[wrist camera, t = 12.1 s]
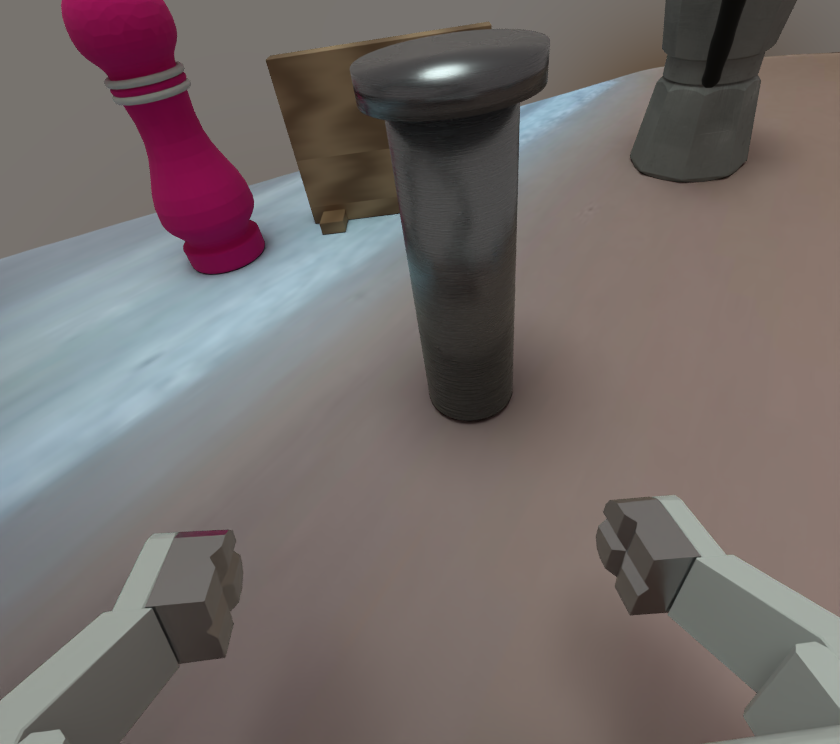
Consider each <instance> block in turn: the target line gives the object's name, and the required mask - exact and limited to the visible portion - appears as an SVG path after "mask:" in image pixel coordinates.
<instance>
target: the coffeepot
mask: <svg viewBox="0 0 840 744" xmlns="http://www.w3.org/2000/svg"><path fill="white" fill-rule="evenodd" d="M796 1H797V0H666V5H665V18H664V32H663V45H662V49H663V50H664V52H665V53H666V54H668V55H667V59H666V63H665V68H664V72H663V76H662V77H661V78H660V80H659V81H658V82H657V83H656V86H655V89H654V91H653V94H652V97H651V99H650V102H649V105H648V108H647V110H646V113H645V116H644V119H643V121H642V124H641V127H640V129H639V132H638V135H637V138H636V140H635V143H634V146H633V149H632V151H631V154H630V157H631V160H632V162H633V164H634V167H635V168H636V169H637V170H638V171H640V172H642V173H643V174H646V175H648V176H651V177H654V178H658V179H662V180H668V181H676V182H703V181H711V180H716V179H720V178H724V177H726V176H729V175H731V174H733V173H734V172H736V171H737V170H738V169H739V168H740V166H741V165H742V164H743V163H744V162H745V161H747V157H748V151H749V145H750V140H751V134H752V128H753V123H754V117H755V112H756V106H757V100H758V95H759V89H760V84H761V80H760V78H759V76H758V73H759V70H760V67H761V64H762V61H763V57H764V54H765V51H767V50H769V49H770V48H771V47H772V46H774V45H775V44H776V42H777V40H778V38H779V36H780V34H781V32H782V30H783V28H784V26H785V24H786V22H787V20H788V18H789V15H790V14H791V12H792V9H793V7H794V5H795V3H796Z"/></svg>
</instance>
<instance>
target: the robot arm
mask: <svg viewBox="0 0 840 744" xmlns="http://www.w3.org/2000/svg"><path fill="white" fill-rule="evenodd" d="M603 513H604V515H605V516H606V518H607V519H606V520H605V521H604V522H603V523H601V524H600V525H599V526H598V530H597V534H596V544H597V550H598V554H599V557H600V559H601V561H602V563H603V565H604V567H605V569H607V570H608V571H609V572H611V573H612V574H613V575H615V576H616V583H615V588H616V590H617V592H618V594H619V596H620V598H621V600H622V601H623V603H624V605H625V607H626V609H627V611H628V613H629V615H643V614H657V613H668V616H669V617H671V618H672V619H673V620H674V621H675V622H676V623H677V624H679V625H680V626H681V627H682V628H683V629H684V630H685V631H687V632H688V633H689V634H690V635H691V636H692V637H693V638H695V639H696V640H697V641H698V642H699V643H700V644H701V645H703V646H704V647H705V648H706V649H707V650H708V651H709V652H711V653H712V654H713V655H714V656H715V657H716V658H717V659H719V660H720V661H721V662H722V663H723V664H724V665H725V666H727V667H728V668H729V669H730V670H731V671H732V672H733V673H735V674H736V675H737V676H738V677H739V678H740V679H741V680H743V681H744V682H745V683H746V684H747V685H748V686H749V687H751V688H752V689H753V690H754V691H755V692H756V693H757V694H756V695H755V696H754V698H753V699H752V700H751V701H750V703H749V704H748V705H747V706H746V708H745V710H744V715H743V717H744V718H745V720H746V722H747V723H748V725H749V727H750V728H751V730H752V732H753V733H754V735H755V736H754V737H747V738H739V739H732V740H725V741H718V742H711V743H703V744H840V618H839V617H838V616H836V615H834V614H832V613H831V612H829V611H827V610H826V609H824V608H822V607H821V606H819V605H817V604H816V603H814V602H812V601H810V600H809V599H807V598H805V597H804V596H802V595H800V594H799V593H797V592H795V591H794V590H792V589H790V588H788V587H787V586H785V585H783V584H782V583H780V582H778V581H777V580H775V579H773V578H772V577H770V576H768V575H766V574H765V573H763V572H761V571H760V570H758V569H756V568H755V567H753V566H751V565H750V564H748V563H746V562H744V561H743V560H741V559H739V558H738V557H736V556H734V555H726V554H725V553H724V552H723V550H722V549H721V548H720V547H719V545H718V544H717V543H716V542H715V540H714V539H713V538H712V537H711V536H710V534H709V533H708V532H707V531H706V529H705V528H704V527H703V526H702V524H701V523H700V522H699V521H698V520H697V518H696V517H695V516H694V515H693V513H692V512H691V511H690V510H689V508H688V507H687V506H686V505H685V504H684V502H683V501H682V500H681V499H680V498H679V497H677V496H675V495H668V496H655V497H640V498H629V499H617V500H610V501H609V502H608V503H606V505H605V508H604V511H603ZM235 543H236V539H235V536H234V533H233V530H212V531H192V532H177V533H160V534H153V535H152V536H151V537H150V538H149V539H148V540H147V541H146V542H145V544H144V547H143V549H142V551H141V553H140V555H139V557H138V559H137V561H136V563H135V565H134V567H133V569H132V571H131V573H130V575H129V577H128V579H127V581H126V583H125V585H124V588H123V590H122V592H121V594H120V596H119V598H118V600H117V602H116V604H115V606H114V608H113V610H112V611H110V612H103V613H102V614H101V615H100V616H99V617H97V618H96V619H95V620H94V621H93V622H92V623H90V624H89V625H88V626H87V627H86V628H85V629H83V630H82V631H81V632H80V633H79V634H78V635H76V636H75V637H74V638H73V639H72V640H70V641H69V642H68V643H67V644H66V645H65V646H63V647H62V648H61V649H60V650H59V651H58V652H56V653H55V654H54V655H53V656H52V657H51V658H49V659H48V660H47V661H46V662H45V663H44V664H42V665H41V666H40V667H39V668H38V669H37V670H35V671H34V672H33V673H32V674H31V675H30V676H28V677H27V678H26V679H25V680H24V681H23V682H21V683H20V684H19V685H18V686H17V687H16V688H14V689H13V690H12V691H11V692H10V693H9V694H7V695H6V696H5V697H4V698H3V699H2V700H0V744H119V743H120V741H121V740H122V739H123V738H124V736H125V735H126V734H127V733H128V731H129V730H130V729H131V728H132V726H133V725H134V724H135V722H136V721H137V720H138V719H139V717H140V716H141V715H142V714H143V712H144V711H145V710H146V709H147V707H148V706H149V705H150V703H151V702H152V701H153V700H154V698H155V697H156V696H157V695H158V693H159V692H160V691H161V690H162V688H163V687H164V686H165V685H166V683H167V682H168V681H169V679H170V678H171V677H172V676H173V674H174V673H175V672H176V671H177V669H178V668H179V664H182V663H189V662H197V661H204V660H212V659H219V658H225V657H226V653H227V649H228V645H229V641H230V637H231V633H232V629H233V625H234V623H233V620H232V617H231V613H230V611H231V610H232V609H233V608H234V607H235V606H236V605H237V604H238V603H239V600H240V595H241V591H242V582H243V566H242V560H241V556H240V555H239V554H238V553H236V552H235V551H234V547H235Z"/></svg>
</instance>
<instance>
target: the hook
mask: <svg viewBox="0 0 840 744" xmlns="http://www.w3.org/2000/svg"><path fill="white" fill-rule="evenodd" d="M549 49H550V39H549V37H548V36H546V35H545V34H542V33H539V32H536V31H530V30H521V29H484V30H471V31H462V32H453V33H446V34H440V35H434V36H428V37H423V38H418V39H414V40H409V41H405V42H401V43H397V44H394V45H390V46H387V47H384V48H381V49H378V50H375V51H373V52H370V53H368V54H366V55H364V56H362V57H360V58H359V59H357V60H355V61H354V62H353V63H352V64H351V66H350V74H351V79H352V84H353V89H354V94H355V99H356V104H357V108H358V110H359V111H360V112H361V113H363V114H365V115H367V116H370V117H373V118H377V119H382V120H385V125H386V131H387V137H388V143H389V149H390V155H391V161H392V168H393V174H394V180H395V186H396V192H397V198H398V204H399V211H400V217H401V223H402V229H403V235H404V241H405V247H406V253H407V260H408V266H409V272H410V278H411V284H412V290H413V296H414V303H415V309H416V315H417V321H418V327H419V333H420V339H421V345H422V352H423V358H424V364H425V370H426V376H427V382H428V388H429V395H430V398H431V401H432V403H433V404H434V406H435V407H436V408H437V409H438V410H439V411H440V412H442V413H443V414H445V415H447V416H449V417H451V418H455V419H459V420H480V419H484V418H487V417H490V416H492V415H494V414H496V413H498V412H499V411H500V410H502V409H503V408H504V407H505V406H506V405H507V403H508V402H509V400H510V398H511V395H512V382H513V345H514V308H515V271H516V234H517V197H518V160H519V123H520V102H522V101H525V100H527V99H529V98H531V97H532V96H534V95H536V94H537V93H539V92H540V91H541V90H543V88H544V87H545V86H546V84H547V80H548V65H549Z"/></svg>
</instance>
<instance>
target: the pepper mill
mask: <svg viewBox="0 0 840 744" xmlns="http://www.w3.org/2000/svg"><path fill="white" fill-rule="evenodd" d="M61 7H62V17H63V20H64V24H65V27H66V29H67V32H68V34H69V36H70V38H71V40H72V42H73V43H74V45H75V47H76V48H77V50H78V51H79V52H80V53H81V54H82V55H83V56H84V57H85V58H86V59H88V60H89V61H91V62H92V63H93V64H95V65H96V66H98V67H99V68H101V69H102V70H103V71H104V72H105V73H106V74H107V75H108V78H106V79H105V81H104V84H105V86H106V87H107V88H109V89H110V91H111V93H112V94H113V95H114V96H113V101H114V102H115V103H116V104H118V105H123V106H124V107H125V109H126V110H127V112H128V114H129V115H130V117H131V118H132V120H133V121H134V123H135V125H136V127H137V129H138V131H139V133H140V135H141V137H142V139H143V142H144V144H145V148H146V152H147V155H148V159H149V167H150V177H151V189H152V198H153V202H154V207H155V210H156V212H157V215H158V217H159V219H160V221H161V224H162V225H163V227H164V228H165V229H166V230H167V231H168V232H169V233H171V234H172V235H174V236H176V237H178V238H180V239H182V240H184V241H185V243H184V246H183V249H184V252H185V253H186V255H187V257H188V259H189V261H190V263H191V265H192V266H193V268H194V269H195V270H197V271H199V272H201V273H207V274H218V273H225V272H229V271H232V270H236V269H238V268H241V267H243V266H245V265H247V264H249V263H251V262H252V261H254V260H255V259H256V258H257V257H258V256H259V255H260V254H261V253H262V252H263V249H264V247H265V242H264V239H263V237H262V234H261V232H260V229H259V227H258V225H257V224H256V223H255V222H254V221H251V220H249V219H250V217H251V214H252V212H253V208H254V199H253V195H252V193H251V191H250V189H249V187H248V185H247V183H246V181H245V180H244V178H243V177H242V176H241V174H240V173H239V171H238V170H237V169H236V168H235V167H234V166H233V165H232V164H231V163H230V162H229V161H228V160H227V158H225V156H224V155H223V154H222V153H221V152H220V151H219V150H218V149H217V148H216V146H215V145H214V144H213V143H212V142H211V140H210V139H209V137H208V136H207V134H206V133H205V132H204V130H203V128H202V126H201V124H200V122H199V120H198V118H197V116H196V114H195V112H194V109H193V106H192V103H191V100H190V97H189V94H188V91H187V89H188V88H189V87H190V86H191V82H190V80H189V79H187V78H186V74H185V73H184V72H183V71H184V65H183V64H182V63H180V62H175V59H174V50H175V46H176V41H177V31H176V26H175V23H174V20H173V17H172V15H171V13H170V11H169V9H168V7H167V6H166V4H165V2H164V1H163V0H62V4H61Z"/></svg>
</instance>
